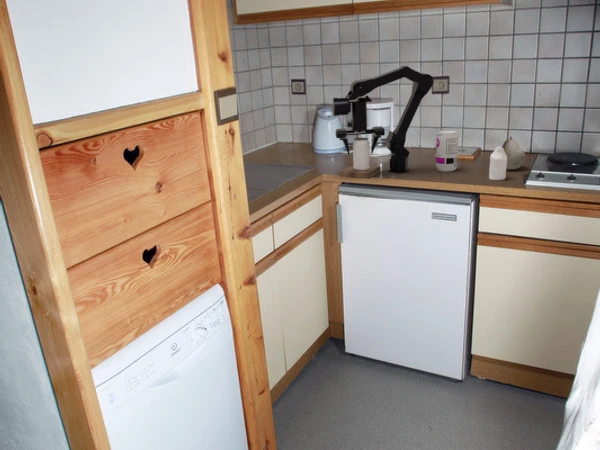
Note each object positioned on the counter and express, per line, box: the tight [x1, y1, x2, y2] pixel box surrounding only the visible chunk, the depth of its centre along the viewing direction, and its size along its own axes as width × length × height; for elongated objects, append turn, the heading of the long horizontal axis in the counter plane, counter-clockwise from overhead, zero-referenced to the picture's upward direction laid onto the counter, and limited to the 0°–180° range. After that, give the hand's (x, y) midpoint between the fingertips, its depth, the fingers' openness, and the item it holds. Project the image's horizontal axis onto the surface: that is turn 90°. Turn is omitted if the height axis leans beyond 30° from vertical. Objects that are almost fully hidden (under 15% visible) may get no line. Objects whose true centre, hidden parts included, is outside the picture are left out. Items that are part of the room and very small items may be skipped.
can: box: [352, 137, 371, 171], centre depth 215 cm, size 6×6×12 cm
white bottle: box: [488, 145, 507, 181], centre depth 198 cm, size 6×12×6 cm
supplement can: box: [435, 129, 459, 173], centre depth 214 cm, size 8×8×15 cm
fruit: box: [501, 136, 526, 171], centre depth 210 cm, size 10×9×12 cm
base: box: [340, 164, 381, 179], centre depth 218 cm, size 12×12×2 cm
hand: (360, 153), depth 216 cm, fingers open, 9 cm apart
